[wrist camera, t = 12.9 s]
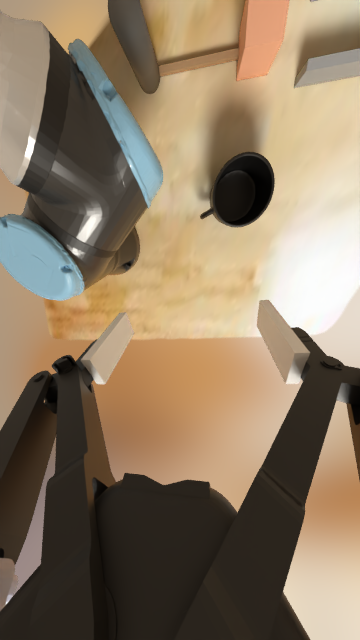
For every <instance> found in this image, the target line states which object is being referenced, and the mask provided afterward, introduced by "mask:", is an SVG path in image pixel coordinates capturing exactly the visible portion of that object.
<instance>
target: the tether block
mask: <svg viewBox="0 0 360 640" xmlns="http://www.w3.org/2000/svg"><path fill="white" fill-rule="evenodd" d="M288 7H289V0H246V2H245V7H244V11H243V16H242V21H241V26H240V35H239V48H235V49H231V50H226V51H222V52H218V53H213V54H209V55H204V56H200V57H195V58H191V59H187V60H182V61H178V62H173V63H169V64H165V65H160V66H158V63H157V59H156V56H155V52H154V49H153V46H152V42H151V39H150V35H149V32H148V29H147V25H146V22H145V18H144V15H143V11H142V8H141V5H140V1H139V0H108V12H109V18H110V22H111V25H112V27H113V29H114V31H115V33H116V35H117V38H118V40H119V42H120V44H121V46H122V48H123V50H124V52H125V54H126V56H127V59H128V61H129V63H130V65H131V67H132V69H133V71H134V73H135V75H136V77H137V79H138V82H139V84H140V86H141V88H142V89H143V91H144V92H146V93H148V94H152V93H154V92H155V91H156V90H157V88H158V86H159V82H160V77H161V76H165V75H170V74H175V73H179V72H184V71H188V70H193V69H198V68H202V67H207V66H211V65H216V64H221V63H225V62H230V61H234V60H238V65H237V79H236V81H239V80H244V79H249V78H254V77H259V76H264V75H267V74H268V72H269V70H270V67H271V65H272V63H273V61H274V59H275V57H276V54H277V52H278V50H279V48H280V46H281V44H282V42H283V39H284V33H285V26H286V20H287V13H288Z"/></svg>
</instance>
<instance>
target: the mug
mask: <svg viewBox="0 0 360 640" xmlns="http://www.w3.org/2000/svg"><path fill="white" fill-rule="evenodd" d="M274 182H275V181H274V173H273V169H272V167H271V164H270V163H269V161H268V160H267V159H266V158H265V157H264V156H262V155H260V154H258V153H255V152H245V153H241V154H239V155H237V156H235V157H233V158H232V159H231V160H229V161H228V162H227V163H226V164H225V165H224V166H223V168H222V169H221V171H220V172H219V174H218V176H217V178H216V180H215V183H214V185H213V188H212V191H211V196H210V206H211V208H210V209H209V210H208V211H206V212H204V213H203V214H201V216H200V218H201V219H203V218H205V217H207V216H209V215H211V214H213V215H214V216H215V218H216V219H217V220H218V221H219V222H221V223H223V224H225V225H228V226H231V227H243V226H246V225H249V224H251V223H252V222H254V221H255V220H257V219H258V218H259V217H260V216H261V215H262V214H263V212H264V211H265V210H266V208H267V207H268V205H269V203H270V201H271V198H272V195H273V191H274Z"/></svg>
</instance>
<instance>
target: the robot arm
mask: <svg viewBox="0 0 360 640" xmlns="http://www.w3.org/2000/svg"><path fill="white" fill-rule="evenodd" d="M68 50H69V54H67V53H66V51H64V49H63V48H62V47H61V45H60V44H59V43H58V42H57V41H56V39H55V38H54V37H53V36H52V34H51V33H50V32H49V31H48V29H47V28H46V27H45V26H44V25H43V23H42V22H40V21H31V20H24V19H15V18H12V17H10V16H8V15H6V14H4V13H2V12H1V11H0V168H1V169H2V171H3V172H4V174H5V175H6V177H7V178H8V180H9V181H10V182H11V183H12V184H14V185H16V186H18V187H20V188H22V189H24V190H26V191H28V192H29V195H28V199H27V202H26V205H25V208H24V212H23V213H22V215H15V214H8V215H5V216H4V217H0V262H1V263H2V265H3V266H4V267H5V269H6V270H7V271H8V272H9V274H10V275H11V276H12V277H13V278H14V279H15V280H16V281H18V282H19V283H20V284H21V285H22V286H24V287H25V288H27V289H28V290H30V291H31V292H33V293H35V294H37V295H39V296H41V297H43V298H46V299H51V300H58V301H62V300H67V299H70V298H71V297H73V296H76V295H80V294H81V293H82V292H83V291H84V290H85V289H87V288H88V287H90V286H91V285H93V284H94V283H96V282H98V281H99V280H101V279H102V278H104V277H105V276H107V275H119V274H123V273H125V272H127V271H128V270H129V269H131V268H132V267H133V266H134V265H135V263H136V262H137V260H138V257H139V252H140V244H139V238H138V235H137V232H136V230H135V228H134V226H135V225H136V223H137V222H138V220H139V219H140V217H141V216H142V214H143V213H144V212H145V210H146V209H147V208H148V209H149V207H150V206H151V201H152V200H153V198H154V197H155V195H156V193H157V192H158V190H159V189H160V187H161V185H162V182H163V170H162V167H161V164H160V162H159V159H158V158H157V156H156V154H155V152H154V150H153V148H152V147H151V145H150V143H149V141H148V140H147V138H146V136H145V135H144V133H143V131H142V129H141V128H140V126H139V125H138V123H137V121H136V120H135V118H134V116H133V115H132V113H131V112H130V110H129V108H128V107H127V105H126V104H125V102H124V101H123V99H122V98H121V96H120V95H119V94H118V93H117V92H116V89H115V87H114V86H113V84H112V83H111V81H110V80H109V78H108V77H107V75H106V73H105V71H104V70H103V68H102V67H101V65H100V64H99V62H98V61H97V59H96V58H95V57H94V55H93V54H92V52H91V51H90V50H89V48H88V47H87V46H86V45H85V44H84V43H83V42H82V41H81V40H80V39H76V40H75V41H74V42H73V43H70V44H69V46H68ZM257 327H258V329H259V331H260V333H261V335H262V337H263V339H264V341H265V343H266V345H267V347H268V349H269V351H270V353H271V355H272V357H273V359H274V361H275V363H276V365H277V367H278V369H279V371H280V373H281V375H282V377H283V379H284V382H285V383H286V384H299V382H300V379H302V380H303V383H302V385H301V387H300V389H299V391H298V393H297V396H296V397H295V399H294V401H293V403H292V405H291V408H290V410H289V412H288V414H287V416H286V418H285V420H284V422H283V424H282V426H281V428H280V430H279V432H278V434H277V436H276V438H275V440H274V442H273V444H272V446H271V448H270V451H269V452H268V455H267V457H266V459H265V461H264V463H263V465H262V467H261V468H260V469H259V471H258V473H257V475H256V477H255V479H254V481H253V483H252V485H251V487H250V489H249V491H248V493H247V495H246V497H245V499H244V501H243V503H242V505H241V507H240V509H239V511H238V513H237V511H236V510H235V509H234V507H233V506H232V505H231V503H230V502H229V501H228V500H227V499H226V498H225V497H224V496H223V495H222V494H220V493H219V492H217V491H216V490H214V489H212V488H210V484H209V482H203V481H194V480H184V481H180V482H177V483H172V484H168V485H162V484H160V483H158V482H156V481H154V480H152V479H150V478H148V477H147V476H145V475H139V474H129V473H125V474H124V477H123V480H120V481H118V482H116V481H115V479H114V477H113V475H112V472H111V469H110V465H109V461H108V455H107V451H106V446H105V441H104V437H103V432H102V427H101V422H100V417H99V413H98V408H97V403H96V399H95V393H94V389H93V385H92V384H91V383H92V381H93V380H95V382H96V383H97V384H106V382H107V380H108V379H109V377H110V375H111V373H112V372H113V370H114V368H115V366H116V365H117V363H118V361H119V359H120V357H121V356H122V354H123V352H124V350H125V349H126V347H127V345H128V343H129V342H130V340H131V338H132V336H133V335H134V331H133V329H132V326H131V323H130V321H129V318H128V316H127V313H119V314H118V316H117V317H116V318H115V319H114V320H113V322H112V323H111V324H110V325H109V326H108V328H107V329H106V330H105V331H104V332H103V334H102V335H101V336H100V337H99V338H98V339H97V340H95V341H94V342H93V343H92V344H91V345H90V346H89V347H88V348H87V349H86V350H85V352H84V353H83V354H82V355H81V356H80V357H79V358H78V360H77V361H76V362H75V360H74V359H73V357H72V356H70V355H66V356H63V357H61V358H59V359H58V360H56V361H55V362H54V363H53V365H52V367H53V369H54V370H55V371H56V372H57V373H55V374H52V375H51V374H50V373H49V372H48V371H42V372H39V373H37V374H36V375H34V376H33V377H32V378H31V379H30V380H29V382H28V383H27V385H26V387H25V389H24V391H23V392H22V394H21V395H20V397H19V399H18V401H17V403H16V404H15V406H14V408H13V410H12V411H11V413H10V415H9V417H8V418H7V420H6V422H5V424H4V425H3V427H2V429H1V431H0V640H310V638H309V637H308V635H307V633H306V631H305V630H304V628H303V626H302V625H301V623H300V621H299V619H298V617H297V616H296V614H295V612H294V610H293V609H292V607H291V605H290V603H289V602H288V600H287V598H286V596H285V595H284V593H283V589H284V586H285V582H286V579H287V575H288V572H289V569H290V565H291V562H292V558H293V555H294V551H295V548H296V545H297V541H298V537H299V534H300V530H301V527H302V523H303V519H304V515H305V503H306V499H307V496H308V492H309V489H310V486H311V482H312V479H313V475H314V472H315V469H316V466H317V462H318V459H319V455H320V452H321V449H322V446H323V443H324V439H325V436H326V433H327V429H328V426H329V422H330V419H331V416H332V413H333V409H334V406H335V403H336V400H337V401H341V402H345V403H346V404H347V409H348V415H349V421H350V427H351V433H352V439H353V445H354V451H355V456H356V462H357V468H358V474H359V480H360V369H359V368H354V367H348V366H344V365H343V363H342V362H340V361H339V360H337V359H335V358H333V357H330V356H327V355H326V354H325V353H324V352H323V351H322V350H321V349H320V348H319V347H318V345H317V344H316V343H315V342H314V341H313V340H312V338H311V337H310V336H309V335H308V334H307V333H306V332H305V331H304V330H302V329H300V328H299V327H296V328H290V326H289V325H288V324H287V323H286V321H285V320H284V319H283V317H282V316H281V315H280V314H279V312H278V311H277V310H276V308H275V307H274V306H273V305H272V303H271V302H270V301H269V300H261V301H260V302H259V310H258V319H257ZM44 400H45V403H44ZM55 437H56V463H55V474H54V476H53V477H51V478H50V479H49V481H48V482H47V486H46V497H45V512H44V527H43V542H42V557H41V565H40V566H39V567H38V568H37V569H36V570H35V571H34V573H33V574H32V575H31V576H30V577H29V579H28V580H27V581H26V582H25V583H24V584H23V585H22V587H21V588H20V589H19V590H18V591H17V592H16V594H15V595H14V596H13V594H14V592H15V590H16V588H17V583H18V576H17V575H14V572H15V564H16V562H17V560H18V557H19V555H20V552H21V549H22V547H23V544H24V542H25V539H26V536H27V533H28V530H29V527H30V524H31V521H32V517H33V514H34V510H35V507H36V503H37V500H38V496H39V493H40V489H41V486H42V482H43V479H44V475H45V472H46V468H47V465H48V461H49V458H50V454H51V451H52V447H53V443H54V440H55ZM12 596H13V597H12Z"/></svg>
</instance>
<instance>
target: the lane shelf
mask: <svg viewBox="0 0 360 640" xmlns="http://www.w3.org/2000/svg"><path fill="white" fill-rule="evenodd" d="M312 1H316V0H310V2H312ZM356 76H360V48H358V49H354V50H349V51H344V52H339V53H334V54H329V55H325V56H320V57H315V58H310V59H308V61H307V62H306V63H305V65H304V66H303V68H302V69H301V71H300V72H299V74H298V75H297V77H296V80H295V85H294V88H297V87H302V86H307V85H313V84H318V83H324V82H329V81H334V80H340V79H345V78H350V77H356Z"/></svg>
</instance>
